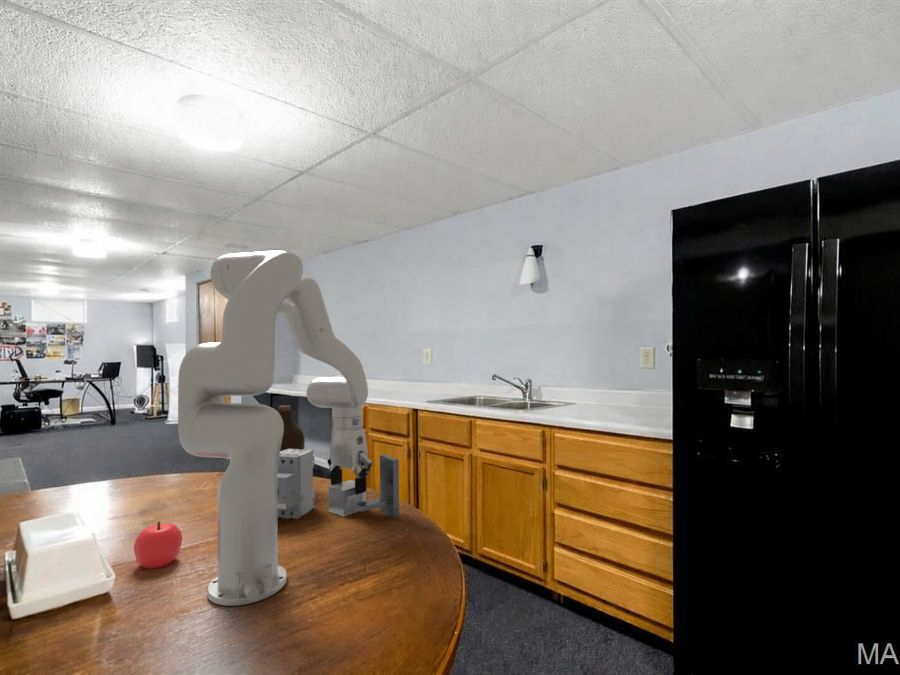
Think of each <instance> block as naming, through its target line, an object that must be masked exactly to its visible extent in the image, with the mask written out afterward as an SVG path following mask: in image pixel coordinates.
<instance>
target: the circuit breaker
mask: <svg viewBox="0 0 900 675" xmlns="http://www.w3.org/2000/svg"><path fill="white" fill-rule="evenodd" d="M314 452H315V450H314V449H305V448H304V449H302V450H300V449H288V450H283V451H281V452H280V454H279V462H278V486H277V492H278V518H279V517H281V518H280V519H290V518H293V520H298V519H300V518H301V517H303V516H304V515H306V514H307V513H309V512H311V511H312V509H315V506H314V503H315V501H316V499H315V495H316V494H315V489H314V487H313V486H314V484H313V482H314V481H313V480H314V479H313V478H314V477H313V476H314V475H313V473H314V472H313V471H314V470H313V468H314V467H315V455H314ZM302 515H303V516H302ZM299 517H300V518H299ZM297 518H298V519H297Z"/></svg>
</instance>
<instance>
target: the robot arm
mask: <svg viewBox="0 0 900 675" xmlns="http://www.w3.org/2000/svg"><path fill="white" fill-rule="evenodd" d="M303 273H304V266H303V261H302V260H301V257H299V256H298V255H297V254H296V253H294V252H291V251H287V250H263V251H253V252H237V253H236V252H235V253H228V254H224V255H221V256H219V257H217V258H216V259H215V260H214V261H213V263H212V265H211V268H210V274H209V275H210V279H211V283H212V286H213V287H214V289H215V291H216V292H218V294H219V295H221V296H222V297H223V298H225V299H226V300H227V302H226V304H225V307H224V312H223V316H222V328H221V340H220V341H218V342H215V341H213V342H202V343H199V344H196V345H194V346H193V347H190V349H189V350H188V351H187V352H186V353H185V355H184V357H183V358H182V361H181V363H180V366H179V369H178V377H177V378H178V379H177V382H178V383H177V384H178V385H177V388H178V390H177V392H178V393H177V395H178V396H177V411H178V412H177V415H178V416H177V430H178V437H179V438H178V439H179V443H180V445H181V447H182V448H183V449H184V450H185V452H187V453H188V454H190V455H192V456H195V457H201V458H212V459H214V458H216V459H218V458H219V459H226V460H230V461H229V465H228V466H227V468H226V470H225V471H224V473H223V474H222V476H221V478H220V480H219V484H218V488H217V576H216V577H214V578H213V579H212V580H211V581H210V582H209V584H208V586H207V590H206V592H207V598H208V599H209V601H210V602H212V603H214V604H217V605H218V606H225V607H226V606H227V607H229V606H230V607H232V606H234V607H235V606H244V605H249V604H252V603H253V604H254V603H257V602H260V601H263V600H265V599H267V598H269V597H271V596H273V595H274V594H277V593H278V592H280V590H281V589H282V588H284V586H285V584H286V583H287V579H288V572H287V570H286V569H285V568H284V567H283V566H281V565H279V564H278V563H279V561H278V554H279V553H278V547H279V546H278V543H279V542H278V532H279V531H278V521H279V520H278V518H279V517H278V492H277V486H278V462H279V454H280V448H281V443H282V439H283V432H284V424H283V420H282V417H281V415H280V414H279V413H278V410H276V408H273V407H271V406H268V405H266V404H263V403H262V404H260V403H251V402H250V403H249V402H248V403H247V402H246V403H245V402H243V403H241V402H240V403H239V402H233V403H231V402H230V403H228V402H227V403H225V402H224V397H226V396H229V397H234V396H235V397H236V396H237V397H240V396H241V397H251V396H252V397H253V396H260V395H263V394H265V393H266V392H268V391H269V390H270V389H271V387H272V386H273V383H274V380H275V379H274V378H275V371H276V370H275V368H276V362H275V361H276V360H275V357H276V354H275V353H276V343H275V342H276V335H275V334H276V333H275V332H276V321H277V320H276V318H277V317H278V316H280V317H281V316H283V317H285V319H286V321H287V324H288V326H289V329H290V332H291V334H292V338H293V340H294V343H295V346H296V348H297V350H298V351H299V352H300V353H302V354H303V355H305V356H308V357H309V358H312V359H315V360H317V361H320V362H321V363H324V364H327V365H329V366H330V367H332V368H334V369H335V370H337V371H338V372H339V373H340V374H336V375H334V376H325V375H324V376H318V377H316V378H314V379H312V380H311V381H310V382H309V384H308V386H307V388H306V399H307V400H308V402H309V404H311V405H313V406H314V407H317V408H322V409H323V408H324V409H325V408H327V409H331V416H332V417H331V418H332V419H331V420H332V421H331V422H332V424H331V425H332V427H331V428H332V429H331V433H330V434H331V436H330V448H329V449H327V451H325V456H326V459H327V461H326V462H327V464H328V466H329V468H328V469H329V471H330V486H331V485H335V484H338V483H342V482H343V469H342V468H344V469H347V470H352V471H353V473H354V475H355V477H356V478H354V481H355V494H357V495H358V494H361V493H363V492H367V477H368V475H369V473H370V472H371V468H372V465H373V461H372V460H371V459H370V458H369V457H368V444H367V443H368V442H367V437H366V436H367V435H366V432H365V428H364V427H363V405H365V403H366V401H367V400H368V396H369V388H368V387H369V386H368V382H367V378H366V373H365V370H364V366H363V364H362V362H361V360H360V359H359V357H358V356H357V355H356V354H355V352H353V350H351V349H350V348H349V346H347V345H346V344H345V343H344V342H343V341H341V340H340V339H339V338H338V337H336V336H335V333H334V331H333V326H332V324H331V321H330V318H329V315H328V311H327V308H326V305H325V302H324V298H323V295H322V291H321V288H320V286H319V283H318V282H317V281H316V280H315V279H313V278H312V277H310V276H306V275H303Z"/></svg>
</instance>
